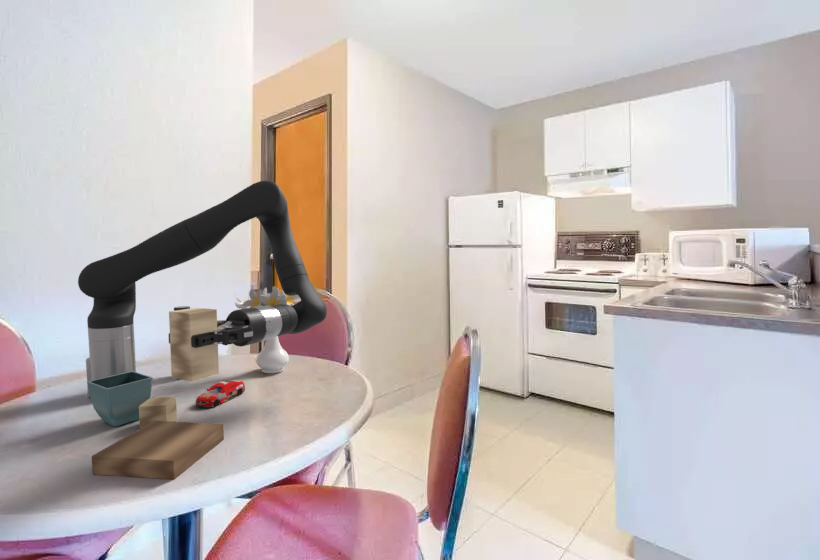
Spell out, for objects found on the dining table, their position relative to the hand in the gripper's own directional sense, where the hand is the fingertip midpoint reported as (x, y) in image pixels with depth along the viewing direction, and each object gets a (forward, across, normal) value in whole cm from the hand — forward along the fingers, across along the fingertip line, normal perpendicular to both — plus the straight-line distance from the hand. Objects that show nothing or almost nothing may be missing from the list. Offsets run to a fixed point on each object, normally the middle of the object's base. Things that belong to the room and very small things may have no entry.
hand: (181, 340), depth 75 cm
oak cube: (-5, -14, +20) cm, 25 cm away
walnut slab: (+3, -1, +20) cm, 20 cm away
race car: (-21, -16, +20) cm, 33 cm away
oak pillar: (-3, 0, +7) cm, 7 cm away
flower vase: (-43, -22, +20) cm, 53 cm away
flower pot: (-3, -23, +20) cm, 31 cm away
